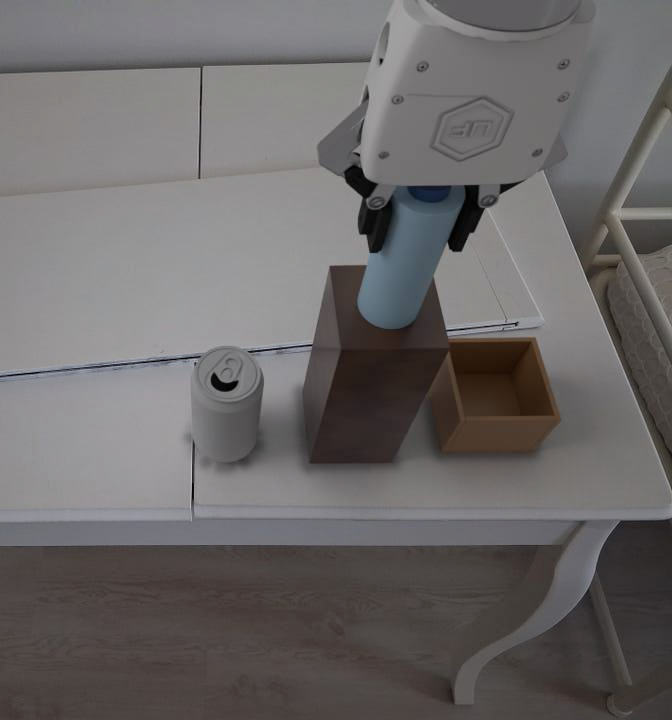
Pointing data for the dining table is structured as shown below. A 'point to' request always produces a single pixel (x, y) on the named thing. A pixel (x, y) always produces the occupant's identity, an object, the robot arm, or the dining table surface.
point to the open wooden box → (493, 396)
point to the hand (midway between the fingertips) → (411, 234)
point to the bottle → (409, 253)
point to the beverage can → (226, 403)
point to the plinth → (367, 374)
